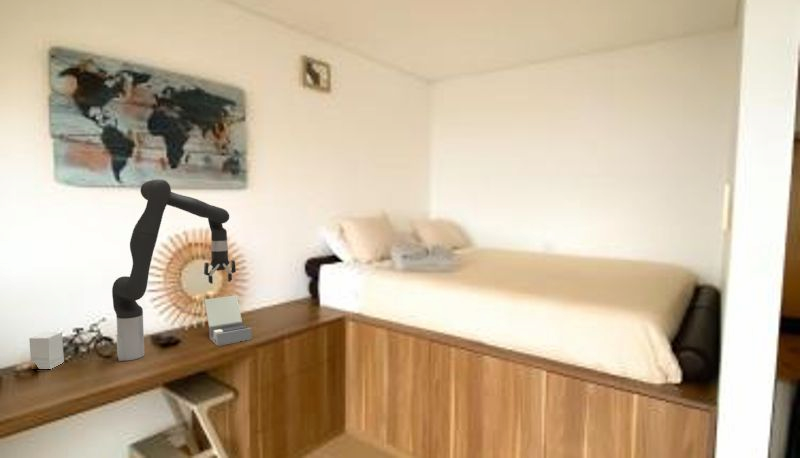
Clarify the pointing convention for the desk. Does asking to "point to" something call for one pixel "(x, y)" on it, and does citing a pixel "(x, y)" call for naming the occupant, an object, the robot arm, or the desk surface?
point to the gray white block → (227, 330)
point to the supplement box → (47, 350)
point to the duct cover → (222, 310)
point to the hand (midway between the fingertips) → (220, 282)
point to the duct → (230, 334)
